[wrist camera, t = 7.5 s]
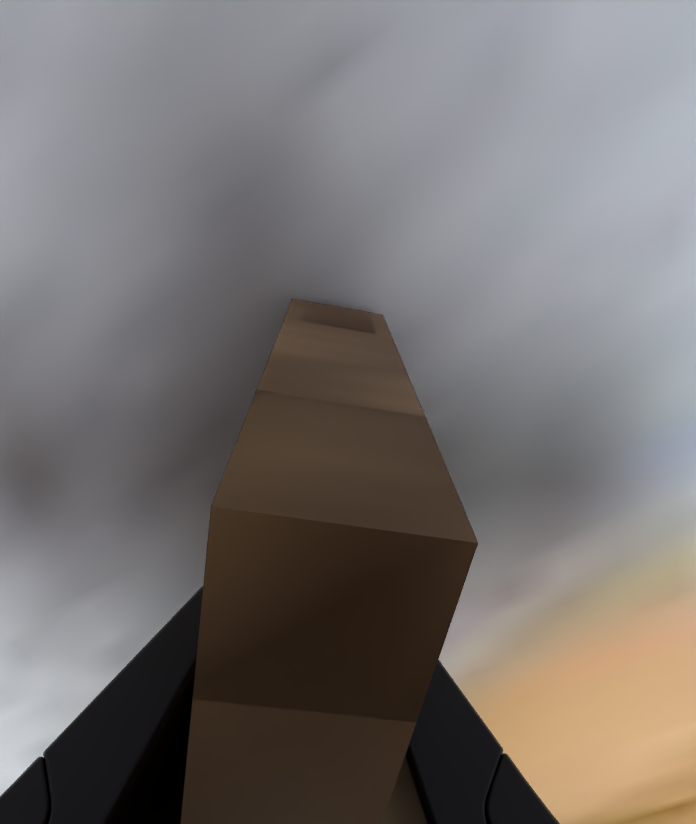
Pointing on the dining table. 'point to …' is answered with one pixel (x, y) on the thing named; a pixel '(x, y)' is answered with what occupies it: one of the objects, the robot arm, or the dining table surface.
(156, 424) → the dining table surface
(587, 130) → the dining table surface
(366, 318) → the wooden frame
